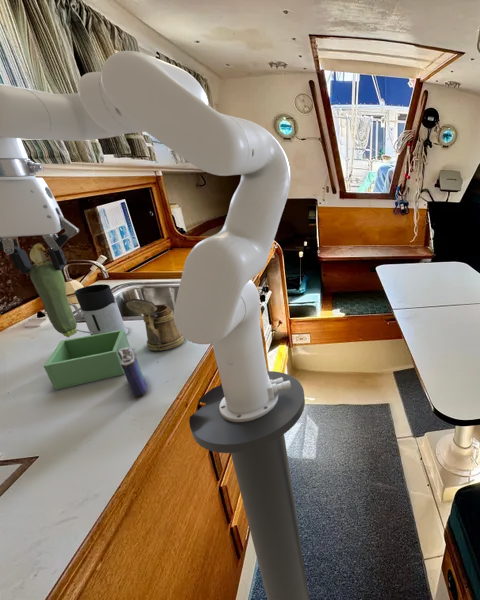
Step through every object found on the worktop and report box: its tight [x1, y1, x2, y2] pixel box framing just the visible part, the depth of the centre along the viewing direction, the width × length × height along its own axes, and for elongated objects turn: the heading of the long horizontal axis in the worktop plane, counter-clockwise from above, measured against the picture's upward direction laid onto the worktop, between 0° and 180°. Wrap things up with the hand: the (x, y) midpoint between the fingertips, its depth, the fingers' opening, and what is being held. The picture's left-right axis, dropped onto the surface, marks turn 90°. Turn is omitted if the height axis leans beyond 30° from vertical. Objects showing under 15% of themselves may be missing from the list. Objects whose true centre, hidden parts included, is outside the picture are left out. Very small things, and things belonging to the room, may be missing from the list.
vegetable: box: [29, 242, 78, 339], centre depth 65 cm, size 4×4×20 cm
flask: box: [118, 346, 148, 399], centre depth 74 cm, size 9×3×11 cm, turn 43°
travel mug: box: [69, 283, 129, 335], centre depth 91 cm, size 9×14×15 cm, turn 172°
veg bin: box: [43, 330, 131, 391], centre depth 81 cm, size 13×13×7 cm
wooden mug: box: [125, 298, 185, 352], centre depth 88 cm, size 9×14×18 cm, turn 14°
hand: (44, 269), depth 63 cm, fingers closed on vegetable, 4 cm apart
